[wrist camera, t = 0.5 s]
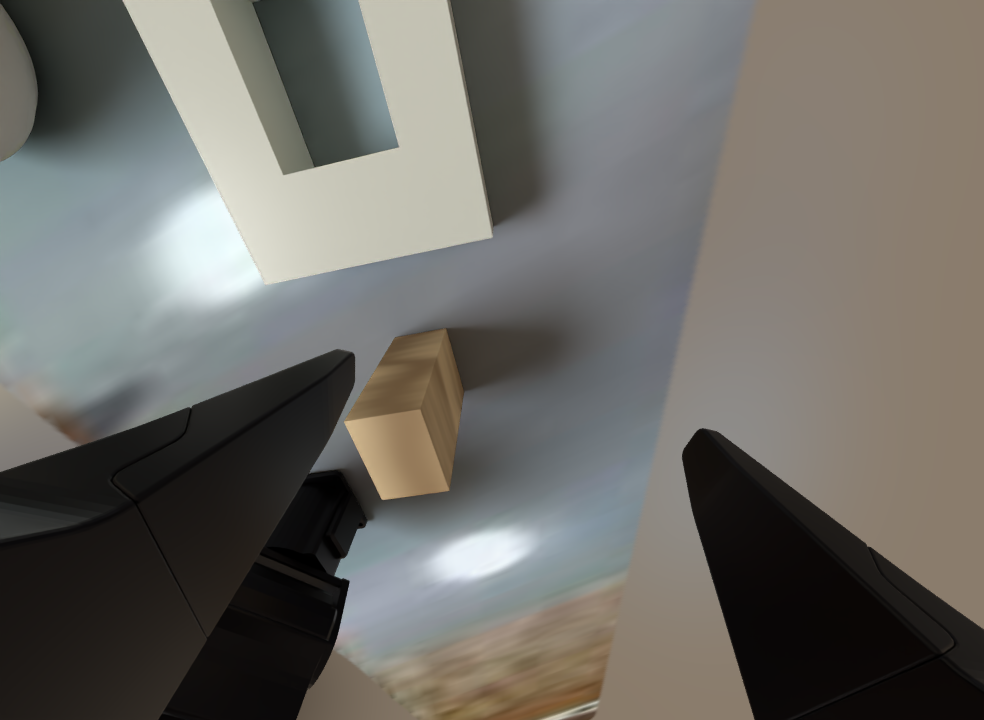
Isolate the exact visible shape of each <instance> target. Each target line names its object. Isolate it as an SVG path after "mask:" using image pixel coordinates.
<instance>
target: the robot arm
mask: <svg viewBox="0 0 984 720" xmlns="http://www.w3.org/2000/svg"><path fill="white" fill-rule="evenodd" d="M354 383H355V355H354V353H353V352H350V351H345V350H341V349H336V350H333V351H331V352H328V353H325V354H323V355H320V356H318V357H315V358H313V359H310V360H308V361H305V362H302V363H300V364H297V365H295V366H292V367H290V368H287V369H285V370H282V371H279V372H277V373H274V374H272V375H269V376H267V377H264V378H262V379H259V380H257V381H254V382H251V383H249V384H246V385H244V386H241V387H239V388H236V389H234V390H231V391H228V392H226V393H223V394H221V395H218V396H216V397H213V398H211V399H208V400H205V401H203V402H200V403H198V404H195V405H193V406H192V408H190V407H187V408H185V409H182V410H180V411H177V412H175V413H172V414H169V415H167V416H164V417H162V418H159V419H156V420H154V421H151V422H148V423H145V424H143V425H140V426H137V427H135V428H132V429H129V430H126V431H123V432H120V433H117V434H114V435H111V436H108V437H105V438H103V439H100V440H97V441H94V442H91V443H88V444H84V445H81V446H78V447H75V448H73V449H69V450H66V451H63V452H60V453H57V454H55V455H51V456H48V457H45V458H42V459H39V460H36V461H33V462H30V463H27V464H24V465H20V466H17V467H14V468H11V469H9V470H5V471H3V472H0V720H296V718H297V716H298V713H299V710H300V708H301V705H302V702H303V699H304V697H305V694H306V691H307V690H308V689H310V688H311V687H312V686H313V685H314V683H315V682H316V680H317V679H318V677H319V676H320V674H321V672H322V671H323V669H324V667H325V665H326V663H327V661H328V659H329V657H330V655H331V652H332V650H333V647H334V645H335V642H336V639H337V636H338V632H339V628H340V623H341V619H342V614H343V609H344V605H345V600H346V596H347V591H348V587H349V582H350V581H349V580H346V579H344V578H343V579H340V578H338V577H335V576H334V575H335V572H336V570H337V567H338V565H339V562H340V560H341V559H342V558H345V557H346V556H347V554H348V551H349V549H350V546H351V544H352V541H353V538H354V536H355V533H356V531H357V529H360V528H364V527H365V526H366V523H367V519H366V517H365V515H364V514H363V511H362V510H361V508H360V506H359V504H358V502H357V500H356V498H355V496H354V495H353V493H352V491H351V489H350V487H349V485H348V484H347V482H346V480H345V478H344V476H343V474H342V473H340V472H338V471H332V472H325V473H318V474H312V475H308V474H309V472H310V470H311V469H312V467H313V465H314V464H315V462H316V460H317V459H318V457H319V456H320V454H321V452H322V451H323V449H324V447H325V446H326V444H327V442H328V440H329V439H330V437H331V435H332V433H333V431H334V429H335V426H336V424H337V422H338V420H339V418H340V415H341V413H342V411H343V409H344V407H345V404H346V402H347V400H348V398H349V396H350V393H351V391H352V389H353V386H354ZM682 460H683V466H684V471H685V476H686V482H687V487H688V492H689V497H690V502H691V507H692V512H693V516H694V519H695V523H696V526H697V530H698V533H699V536H700V539H701V542H702V546H703V550H704V553H705V556H706V560H707V563H708V566H709V569H710V573H711V576H712V580H713V583H714V586H715V590H716V593H717V596H718V599H719V603H720V606H721V609H722V613H723V616H724V619H725V623H726V626H727V629H728V633H729V636H730V639H731V643H732V646H733V649H734V653H735V656H736V659H737V663H738V666H739V669H740V673H741V676H742V679H743V683H744V686H745V689H746V693H747V696H748V699H749V703H750V706H751V709H752V713H753V716H754V719H755V720H984V629H983V628H981V627H980V626H978V625H977V624H975V623H974V622H973V621H971V620H970V619H968V618H967V617H966V616H964V615H963V614H961V613H960V612H958V611H957V610H956V609H954V608H953V607H951V606H950V605H948V604H947V603H946V602H944V601H943V600H942V599H940V598H939V597H937V596H936V595H935V594H933V593H932V592H931V591H929V590H927V589H926V588H925V587H923V586H922V585H921V584H919V583H918V582H917V581H915V580H914V579H913V578H911V577H910V576H908V575H907V574H906V573H904V572H903V571H902V570H900V569H899V568H898V567H896V566H895V565H894V564H892V563H891V562H890V561H888V560H887V559H886V558H884V557H883V556H882V555H880V554H879V553H878V552H876V551H875V550H874V549H872V548H871V547H867V545H866V543H864V542H863V541H862V540H860V539H859V538H858V537H857V536H855V535H854V534H852V533H851V532H850V531H848V530H847V529H846V528H845V527H843V526H842V525H841V524H839V523H838V522H837V521H835V520H834V519H833V518H831V517H830V516H829V515H827V514H826V513H825V512H823V511H822V510H821V509H819V508H818V507H817V506H815V505H814V504H813V503H812V502H810V501H809V500H808V499H806V498H805V497H803V496H802V495H801V494H800V493H798V492H797V491H796V490H794V489H793V488H792V487H790V486H789V485H788V484H786V483H785V482H784V481H782V480H781V479H780V478H778V477H777V476H776V475H774V474H773V473H772V472H770V471H769V470H768V469H767V468H765V467H764V466H762V465H761V464H760V463H759V462H757V461H756V460H755V459H753V458H752V457H750V456H749V455H748V454H747V453H745V452H744V451H743V450H741V449H740V448H739V447H737V446H736V445H735V444H733V443H732V442H731V441H729V440H728V439H727V438H725V437H724V436H723V435H721V434H720V433H719V432H717V431H713V430H709V429H704V428H702V429H699V430H698V431H697V432H696V433H695V434H694V435H693V437H692V438H691V440H690V441H689V442H688V444H687V445H686V447H685V448H684V450H683V454H682Z"/></svg>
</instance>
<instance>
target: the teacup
mask: <svg viewBox="0 0 984 720" xmlns="http://www.w3.org/2000/svg"><path fill="white" fill-rule="evenodd" d="M37 102H38V88H37V80H36V74H35V70H34V67H33V63H32V60H31V57H30V54H29V52H28V50H27V47H26V45H25V43H24V41H23V39H22V37H21V35H20V33H19V32H18V30H17V28H16V26H15V24H14V23H13V21H12V19H11V18H10V17H9V15H8V14H7V12H6V11H5V9H4V8H3V6H2V5H1V4H0V162H1V161H3V160H5V159H7V158H9V157H11V156H12V155H13V154H14V153H16V152H17V151H18V150H19V149H20V148H21V147H22V146H23V144H24V143H25V142H26V140H27V138H28V136H29V134H30V132H31V130H32V127H33V124H34V119H35V112H36V107H37Z"/></svg>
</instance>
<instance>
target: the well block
mask: <svg viewBox="0 0 984 720" xmlns="http://www.w3.org/2000/svg"><path fill="white" fill-rule="evenodd" d="M257 1H260V0H123V2H124V4H125V6H126V8H127V10H128V12H129V14H130V16H131V18H132V20H133V22H134V24H135V26H136V28H137V30H138V32H139V34H140V36H141V38H142V40H143V42H144V44H145V46H146V48H147V50H148V52H149V54H150V56H151V58H152V60H153V62H154V64H155V66H156V68H157V70H158V72H159V74H160V76H161V78H162V80H163V82H164V84H165V86H166V88H167V90H168V92H169V94H170V96H171V98H172V100H173V102H174V104H175V106H176V108H177V110H178V112H179V114H180V116H181V118H182V120H183V122H184V124H185V126H186V128H187V130H188V132H189V134H190V136H191V138H192V140H193V142H194V144H195V146H196V148H197V150H198V152H199V154H200V156H201V158H202V160H203V162H204V164H205V166H206V168H207V169H208V171H209V173H210V175H211V177H212V179H213V181H214V183H215V185H216V187H217V189H218V191H219V193H220V195H221V197H222V199H223V201H224V203H225V205H226V207H227V209H228V211H229V213H230V215H231V217H232V219H233V221H234V223H235V225H236V227H237V229H238V231H239V233H240V235H241V237H242V239H243V241H244V243H245V245H246V247H247V249H248V251H249V253H250V255H251V257H252V259H253V261H254V263H255V265H256V267H257V269H258V271H259V273H260V275H261V277H262V279H263V281H264V283H265V285H268V284H273V283H278V282H282V281H287V280H292V279H297V278H301V277H306V276H311V275H316V274H321V273H325V272H330V271H335V270H340V269H345V268H349V267H354V266H359V265H364V264H368V263H373V262H378V261H383V260H388V259H392V258H397V257H402V256H407V255H411V254H416V253H421V252H426V251H431V250H435V249H440V248H445V247H450V246H455V245H459V244H464V243H469V242H474V241H478V240H483V239H488V238H493V222H492V217H491V212H490V207H489V201H488V196H487V191H486V186H485V180H484V175H483V170H482V165H481V159H480V154H479V149H478V144H477V138H476V133H475V128H474V123H473V117H472V112H471V107H470V101H469V96H468V91H467V86H466V80H465V75H464V70H463V65H462V59H461V54H460V49H459V44H458V38H457V33H456V28H455V23H454V17H453V12H452V7H451V2H450V0H359V4H360V7H361V11H362V15H363V18H364V22H365V25H366V29H367V33H368V36H369V40H370V43H371V47H372V51H373V54H374V58H375V62H376V65H377V69H378V72H379V76H380V80H381V83H382V87H383V90H384V94H385V98H386V101H387V105H388V108H389V112H390V116H391V119H392V123H393V126H394V130H395V134H396V137H397V141H398V144H399V147H398V148H394V149H390V150H386V151H382V152H378V153H374V154H370V155H365V156H361V157H357V158H353V159H349V160H345V161H341V162H336V163H332V164H328V165H324V166H320V167H316V168H315V167H314V164H313V162H312V159H311V157H310V154H309V151H308V149H307V146H306V143H305V141H304V138H303V136H302V133H301V130H300V128H299V125H298V122H297V120H296V117H295V114H294V112H293V109H292V107H291V104H290V101H289V99H288V96H287V93H286V91H285V88H284V85H283V83H282V80H281V78H280V75H279V72H278V70H277V67H276V64H275V62H274V59H273V56H272V54H271V51H270V49H269V46H268V43H267V41H266V38H265V35H264V33H263V30H262V27H261V25H260V22H259V20H258V17H257V14H256V12H255V9H254V6H253V4H252V3H253V2H257Z"/></svg>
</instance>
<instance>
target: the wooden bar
mask: <svg viewBox="0 0 984 720" xmlns="http://www.w3.org/2000/svg"><path fill="white" fill-rule="evenodd" d="M463 395H464V390H463V386H462V383H461V379H460V376H459V372H458V369H457V365H456V362H455V358H454V355H453V351H452V348H451V344H450V340H449V337H448V333H447V330H446V328H444V329H439V330H433V331H428V332H423V333H417V334H412V335H406V336H401V337H396V338H394V340H393V342H392V343H391V345H390V346H389V348H388V350H387V351H386V353H385V355H384V356H383V358H382V360H381V361H380V363H379V365H378V366H377V368H376V370H375V371H374V373H373V375H372V376H371V378H370V380H369V381H368V383H367V384H366V386H365V388H364V389H363V391H362V393H361V394H360V396H359V398H358V399H357V401H356V403H355V404H354V406H353V408H352V409H351V411H350V413H349V414H348V416H347V418H346V419H345V421H344V423H345V425H346V427H347V429H348V431H349V433H350V435H351V437H352V439H353V441H354V443H355V445H356V447H357V449H358V451H359V454H360V456H361V458H362V460H363V462H364V464H365V466H366V468H367V470H368V472H369V474H370V476H371V478H372V480H373V482H374V484H375V486H376V488H377V491H378V493H379V495H380V497H381V499H382V500H387V499H394V498H401V497H408V496H416V495H423V494H430V493H437V492H445V491H449V490H450V483H451V477H452V470H453V463H454V456H455V449H456V443H457V436H458V429H459V422H460V415H461V409H462V402H463Z"/></svg>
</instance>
